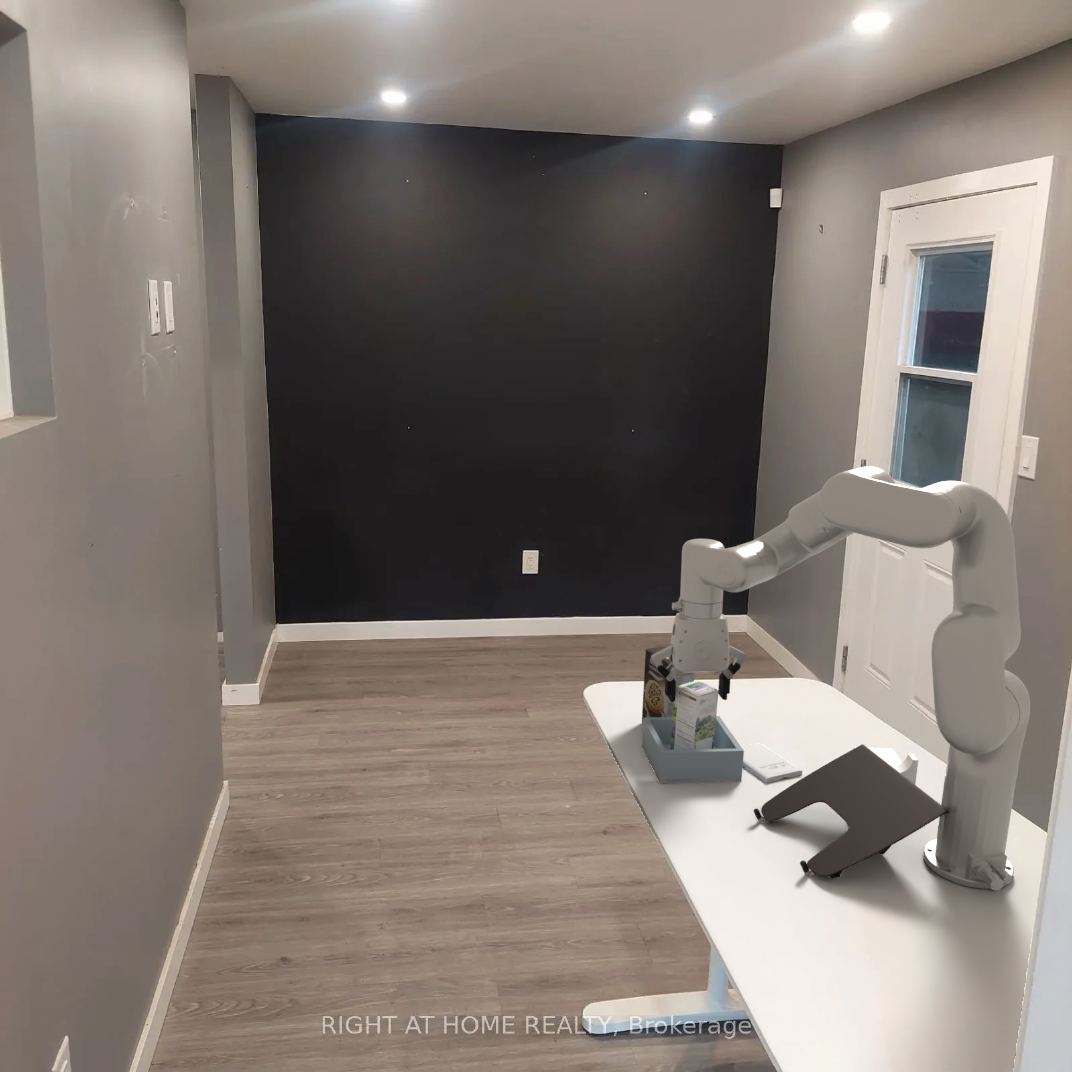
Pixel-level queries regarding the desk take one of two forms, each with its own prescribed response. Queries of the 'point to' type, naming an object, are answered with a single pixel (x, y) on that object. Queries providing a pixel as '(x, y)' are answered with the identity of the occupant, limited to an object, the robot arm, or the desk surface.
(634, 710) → the desk surface
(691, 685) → the syrup box
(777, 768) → the external hard drive
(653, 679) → the coffee box
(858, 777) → the portable electronic device stand
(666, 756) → the bin
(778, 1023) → the desk surface
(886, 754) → the bracket
